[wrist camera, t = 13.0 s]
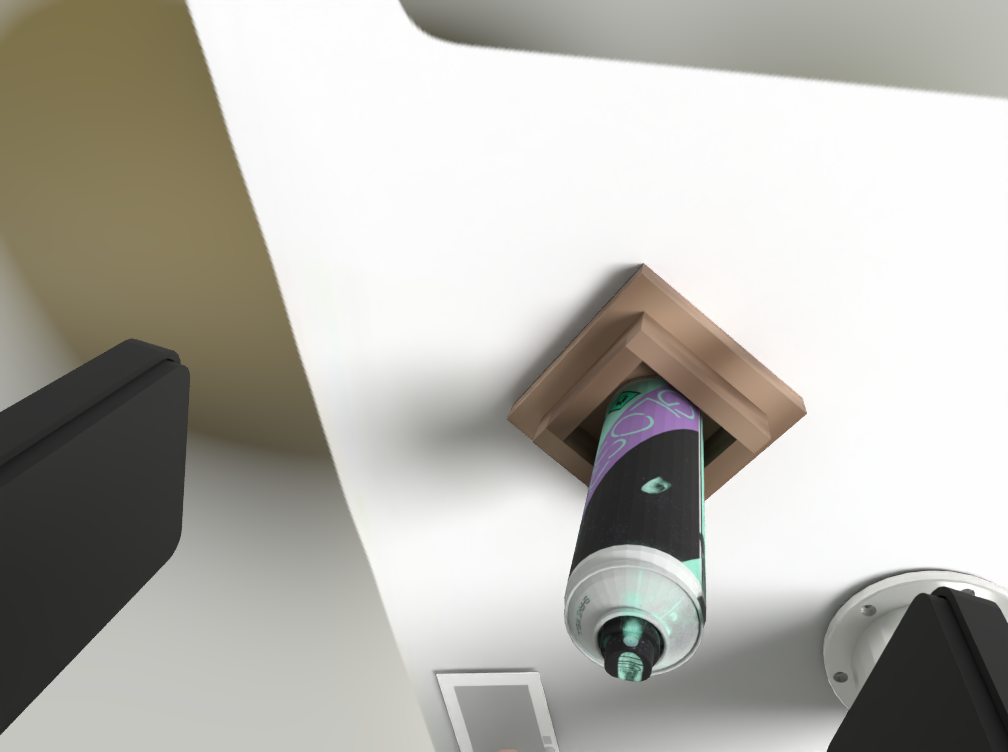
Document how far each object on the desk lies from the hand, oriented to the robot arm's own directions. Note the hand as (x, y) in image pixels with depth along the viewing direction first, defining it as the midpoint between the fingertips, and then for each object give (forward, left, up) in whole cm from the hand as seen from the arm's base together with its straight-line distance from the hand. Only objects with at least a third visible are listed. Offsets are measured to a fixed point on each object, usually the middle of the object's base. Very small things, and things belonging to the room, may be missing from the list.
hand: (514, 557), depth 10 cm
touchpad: (-22, +40, -37) cm, 58 cm away
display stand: (-10, +11, -36) cm, 39 cm away
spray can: (-10, +11, -35) cm, 38 cm away
